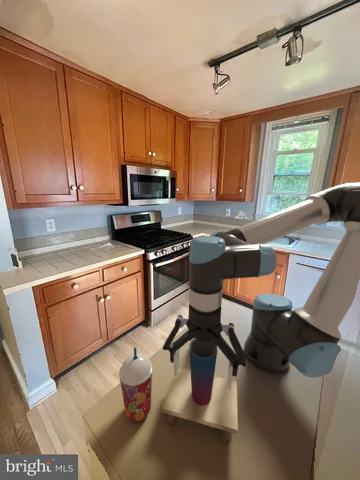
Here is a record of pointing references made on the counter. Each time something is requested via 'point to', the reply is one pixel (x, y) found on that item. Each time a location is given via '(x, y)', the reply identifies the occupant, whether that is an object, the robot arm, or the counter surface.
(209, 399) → the cup
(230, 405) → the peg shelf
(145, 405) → the smoothie
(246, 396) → the counter surface
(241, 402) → the counter surface
